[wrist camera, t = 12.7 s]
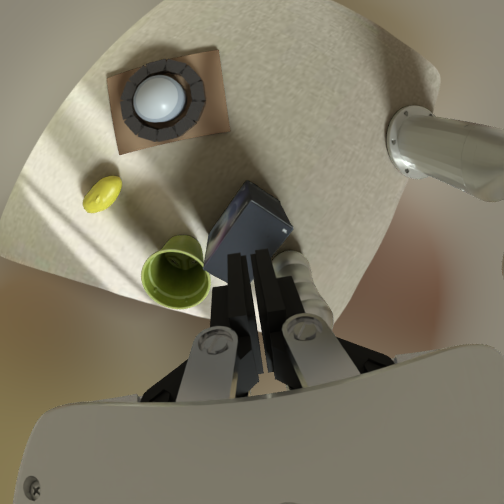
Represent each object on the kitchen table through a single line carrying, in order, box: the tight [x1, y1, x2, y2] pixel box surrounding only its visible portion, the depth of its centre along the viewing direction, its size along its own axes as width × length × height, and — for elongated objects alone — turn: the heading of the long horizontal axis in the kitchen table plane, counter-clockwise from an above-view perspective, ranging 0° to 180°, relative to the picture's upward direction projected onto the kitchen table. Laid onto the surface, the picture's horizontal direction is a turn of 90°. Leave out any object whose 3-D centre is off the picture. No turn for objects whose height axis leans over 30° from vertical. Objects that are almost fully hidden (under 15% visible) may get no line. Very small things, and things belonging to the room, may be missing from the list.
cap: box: [133, 75, 187, 122], centre depth 29 cm, size 6×6×5 cm
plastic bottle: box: [272, 251, 334, 330], centre depth 37 cm, size 6×7×20 cm
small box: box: [203, 180, 293, 283], centre depth 37 cm, size 11×6×10 cm, turn 145°
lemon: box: [83, 176, 122, 213], centre depth 36 cm, size 4×8×4 cm, turn 117°
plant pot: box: [141, 235, 211, 309], centre depth 39 cm, size 9×9×9 cm
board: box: [107, 50, 230, 155], centre depth 32 cm, size 16×12×1 cm
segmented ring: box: [120, 59, 207, 142], centre depth 30 cm, size 11×11×2 cm
